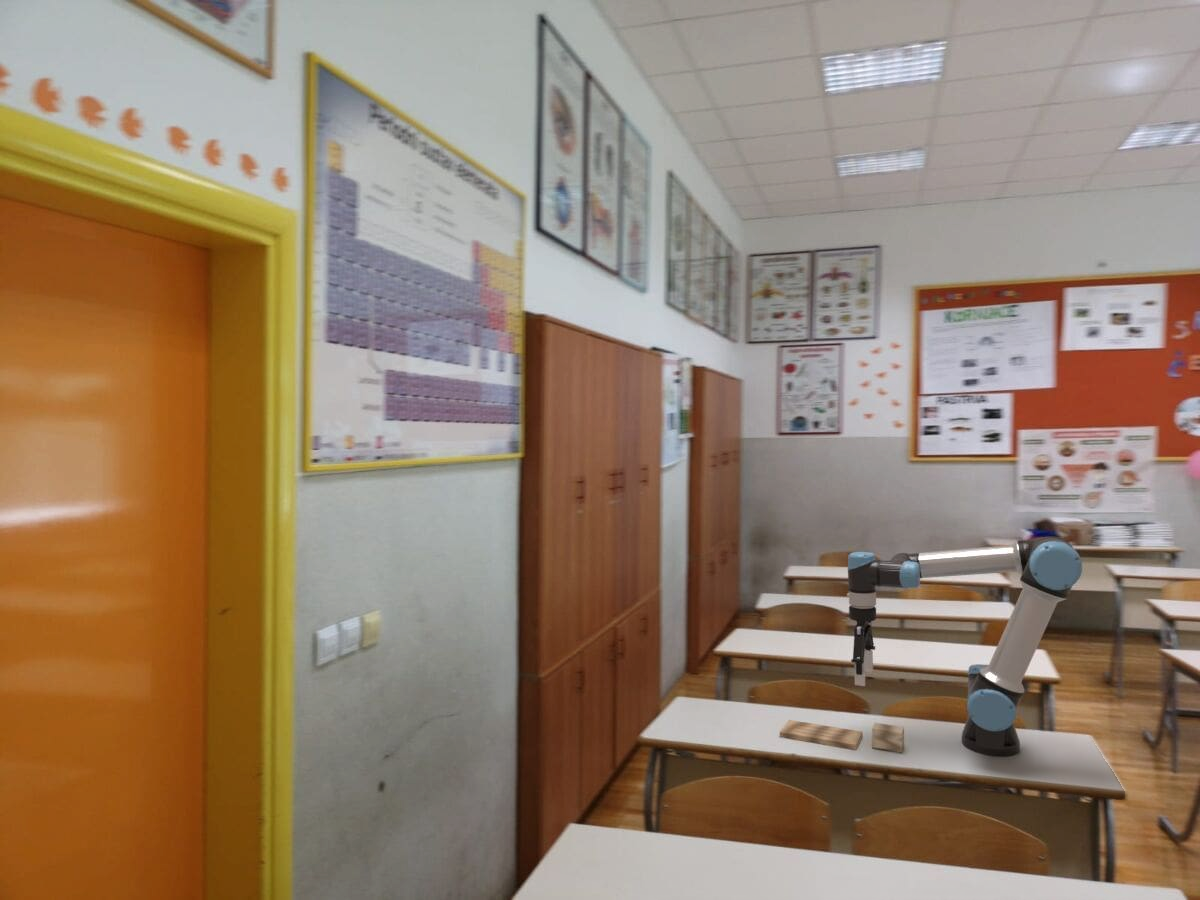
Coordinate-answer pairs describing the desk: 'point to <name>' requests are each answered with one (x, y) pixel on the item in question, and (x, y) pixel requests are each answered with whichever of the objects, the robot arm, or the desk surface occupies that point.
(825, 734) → the board
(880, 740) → the block
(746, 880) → the desk surface
